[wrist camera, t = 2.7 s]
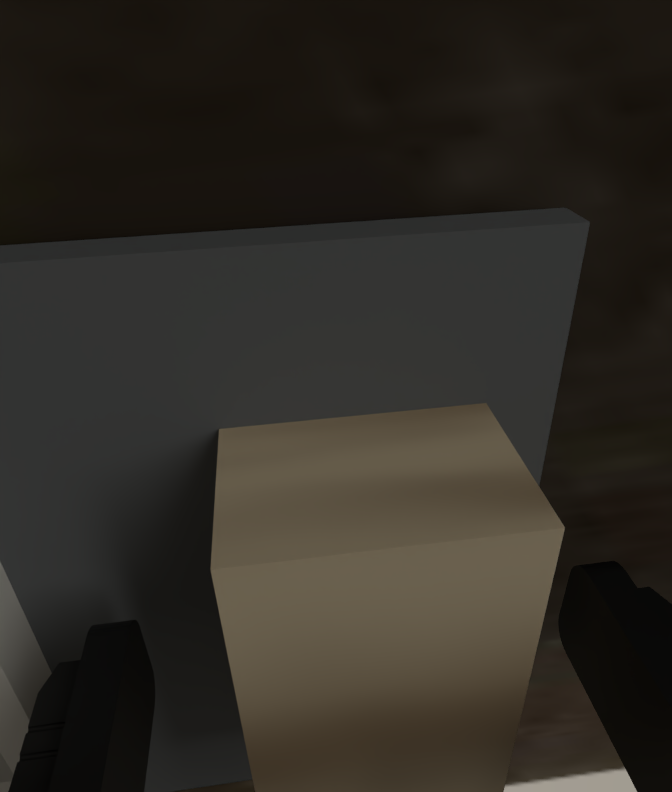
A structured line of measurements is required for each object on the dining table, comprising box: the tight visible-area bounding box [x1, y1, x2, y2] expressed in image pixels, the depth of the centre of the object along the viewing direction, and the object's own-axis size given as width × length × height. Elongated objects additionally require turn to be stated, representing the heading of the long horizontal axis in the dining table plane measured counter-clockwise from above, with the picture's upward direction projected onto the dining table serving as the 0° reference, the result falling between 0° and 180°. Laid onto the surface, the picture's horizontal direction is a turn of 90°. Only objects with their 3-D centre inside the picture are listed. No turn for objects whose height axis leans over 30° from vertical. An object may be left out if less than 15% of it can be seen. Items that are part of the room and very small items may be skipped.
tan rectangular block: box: [210, 403, 565, 792], centre depth 11 cm, size 8×4×3 cm, turn 2°
